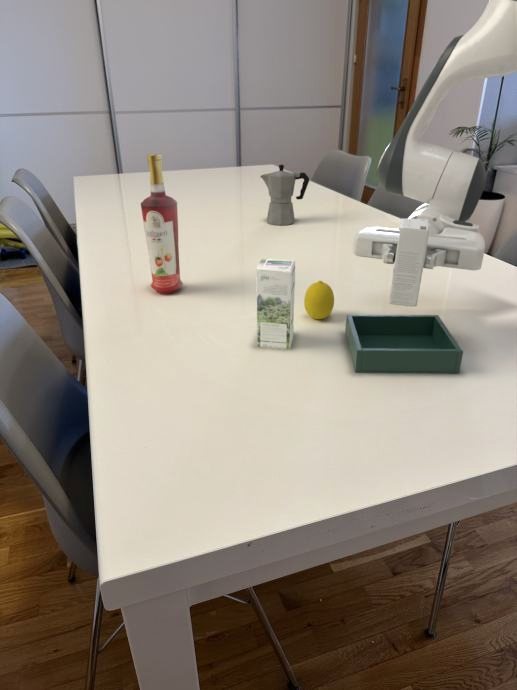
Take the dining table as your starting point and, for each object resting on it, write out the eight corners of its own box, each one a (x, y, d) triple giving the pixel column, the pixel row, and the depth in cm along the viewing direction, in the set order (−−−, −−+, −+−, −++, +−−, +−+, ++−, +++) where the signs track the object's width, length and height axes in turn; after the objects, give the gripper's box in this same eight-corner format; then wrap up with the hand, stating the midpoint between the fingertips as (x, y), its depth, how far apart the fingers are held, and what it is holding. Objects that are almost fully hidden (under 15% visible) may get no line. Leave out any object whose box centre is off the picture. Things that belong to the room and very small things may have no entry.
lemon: (307, 328, 94) (309, 286, 91) (300, 316, 99) (301, 276, 95) (336, 325, 95) (339, 285, 91) (328, 314, 100) (330, 275, 96)
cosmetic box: (390, 291, 84) (398, 217, 78) (418, 293, 83) (429, 218, 77) (388, 305, 79) (397, 226, 73) (418, 308, 77) (430, 228, 72)
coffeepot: (259, 225, 164) (259, 166, 156) (261, 219, 172) (260, 162, 164) (308, 225, 163) (310, 166, 155) (307, 219, 172) (309, 162, 163)
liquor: (188, 285, 115) (178, 153, 102) (177, 297, 109) (165, 157, 96) (157, 283, 116) (144, 152, 104) (145, 295, 110) (128, 157, 97)
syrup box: (294, 337, 91) (295, 258, 84) (290, 353, 85) (291, 269, 79) (262, 335, 91) (261, 256, 85) (256, 350, 86) (255, 268, 80)
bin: (434, 338, 90) (438, 314, 88) (458, 377, 78) (463, 351, 76) (344, 337, 90) (346, 314, 88) (354, 376, 78) (357, 350, 76)
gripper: (365, 214, 91) (342, 233, 80) (490, 226, 83) (484, 248, 72) (362, 249, 94) (340, 272, 82) (483, 263, 86) (475, 290, 75)
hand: (408, 261), depth 77 cm, fingers closed on cosmetic box, 4 cm apart
